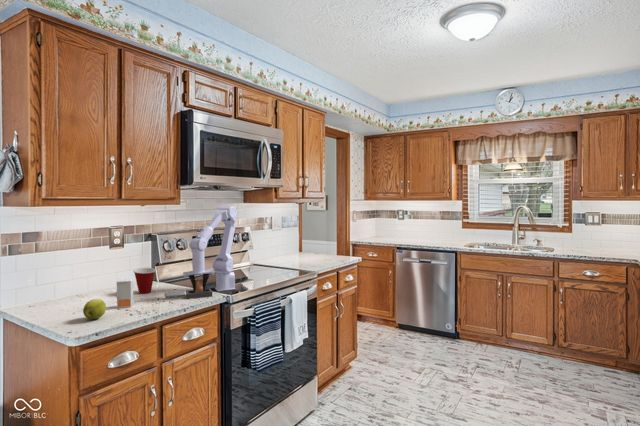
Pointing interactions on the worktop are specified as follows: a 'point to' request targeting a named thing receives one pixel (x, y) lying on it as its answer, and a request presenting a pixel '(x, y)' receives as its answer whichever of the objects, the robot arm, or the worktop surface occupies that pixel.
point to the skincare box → (125, 293)
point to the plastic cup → (144, 279)
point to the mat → (175, 294)
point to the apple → (94, 309)
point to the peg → (198, 285)
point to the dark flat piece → (199, 294)
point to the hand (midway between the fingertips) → (199, 289)
